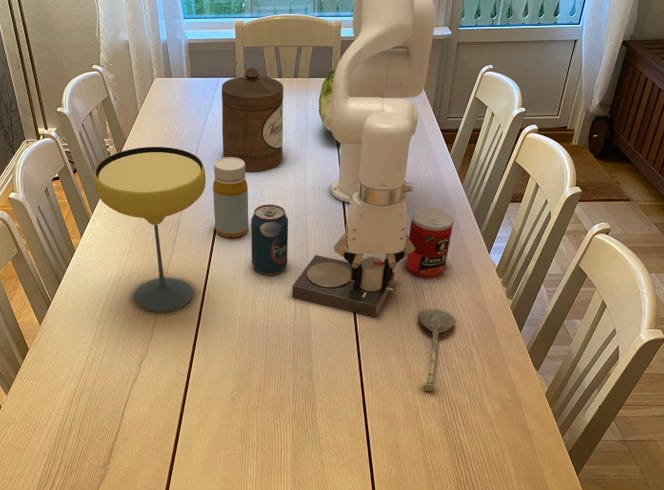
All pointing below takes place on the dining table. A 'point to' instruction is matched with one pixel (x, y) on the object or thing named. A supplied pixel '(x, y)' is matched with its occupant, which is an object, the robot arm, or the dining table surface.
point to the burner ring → (329, 275)
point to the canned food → (429, 241)
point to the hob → (341, 292)
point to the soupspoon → (435, 335)
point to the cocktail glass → (153, 205)
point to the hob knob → (372, 274)
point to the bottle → (230, 197)
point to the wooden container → (253, 120)
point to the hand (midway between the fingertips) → (370, 281)
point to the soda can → (269, 239)
